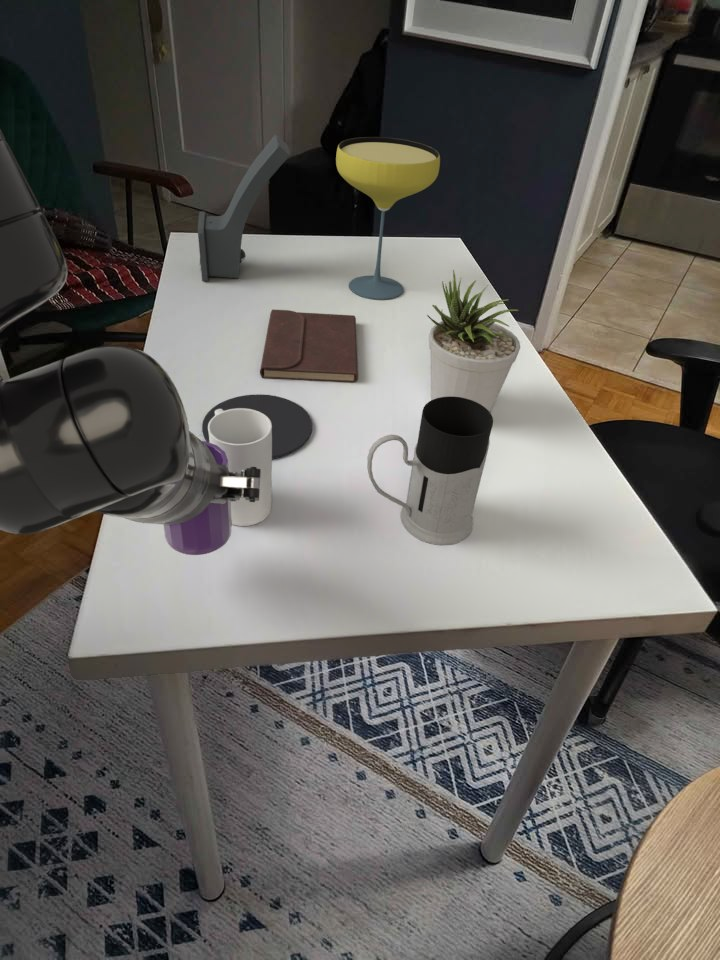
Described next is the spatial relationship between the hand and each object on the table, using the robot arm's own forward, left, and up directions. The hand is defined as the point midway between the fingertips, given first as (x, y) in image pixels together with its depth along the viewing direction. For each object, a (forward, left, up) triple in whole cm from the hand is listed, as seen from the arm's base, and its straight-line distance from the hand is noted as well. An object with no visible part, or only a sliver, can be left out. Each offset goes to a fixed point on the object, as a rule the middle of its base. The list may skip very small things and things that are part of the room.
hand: (197, 488), depth 63 cm
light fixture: (+23, +75, -11) cm, 79 cm away
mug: (+6, +9, -11) cm, 15 cm away
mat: (+12, +23, -10) cm, 27 cm away
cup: (-1, -2, -4) cm, 5 cm away
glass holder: (+25, -1, -11) cm, 27 cm away
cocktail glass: (+46, +62, -11) cm, 77 cm away
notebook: (+26, +42, -11) cm, 50 cm away
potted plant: (+42, +20, -11) cm, 47 cm away
